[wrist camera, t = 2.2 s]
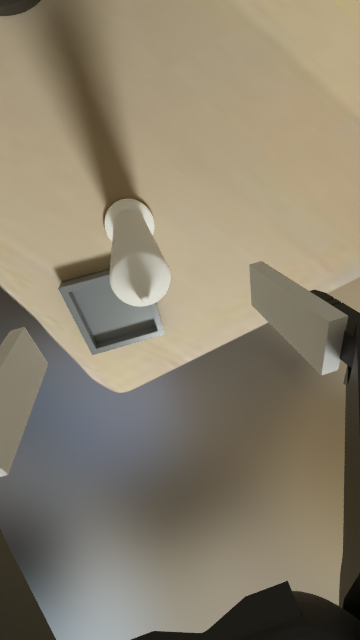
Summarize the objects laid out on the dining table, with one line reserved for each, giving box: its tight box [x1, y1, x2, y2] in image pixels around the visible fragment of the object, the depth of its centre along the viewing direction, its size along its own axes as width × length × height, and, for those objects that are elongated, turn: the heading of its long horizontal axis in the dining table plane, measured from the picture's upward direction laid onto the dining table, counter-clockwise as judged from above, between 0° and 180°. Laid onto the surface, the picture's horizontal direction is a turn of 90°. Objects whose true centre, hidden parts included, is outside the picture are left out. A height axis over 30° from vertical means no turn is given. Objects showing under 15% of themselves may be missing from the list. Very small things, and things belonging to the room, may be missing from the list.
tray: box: [58, 269, 165, 355], centre depth 42 cm, size 13×13×2 cm
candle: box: [104, 198, 171, 307], centre depth 26 cm, size 7×7×25 cm
